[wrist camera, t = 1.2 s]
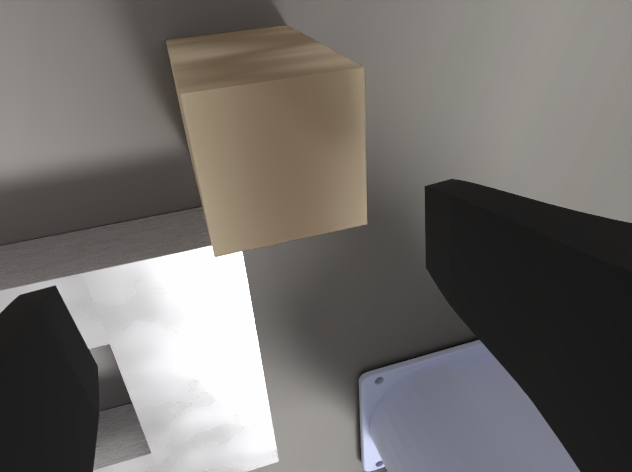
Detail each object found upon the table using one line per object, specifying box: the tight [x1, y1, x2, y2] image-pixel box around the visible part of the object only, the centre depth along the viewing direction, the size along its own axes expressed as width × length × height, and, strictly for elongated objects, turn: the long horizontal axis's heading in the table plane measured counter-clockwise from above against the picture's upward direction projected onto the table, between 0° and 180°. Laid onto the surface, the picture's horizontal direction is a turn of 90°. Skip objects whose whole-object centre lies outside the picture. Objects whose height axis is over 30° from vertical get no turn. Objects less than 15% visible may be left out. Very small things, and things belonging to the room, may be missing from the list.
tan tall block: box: [166, 25, 367, 257], centre depth 14 cm, size 4×4×7 cm
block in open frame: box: [0, 207, 279, 472], centre depth 19 cm, size 16×12×4 cm
